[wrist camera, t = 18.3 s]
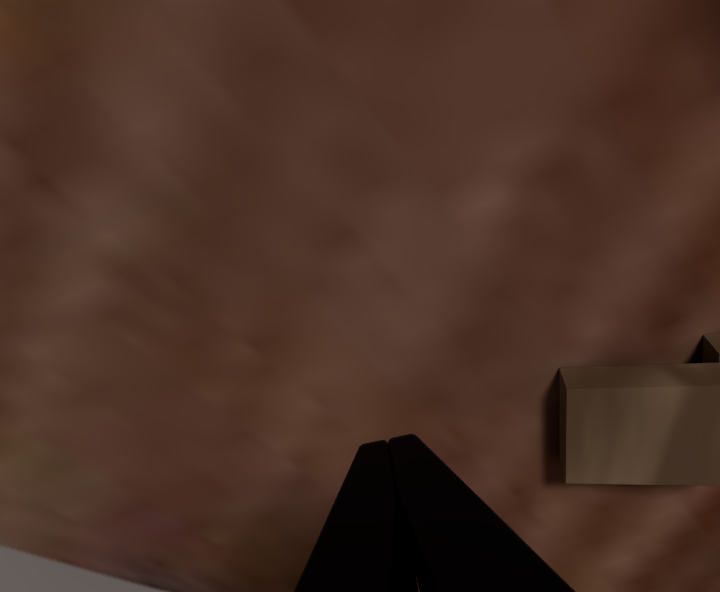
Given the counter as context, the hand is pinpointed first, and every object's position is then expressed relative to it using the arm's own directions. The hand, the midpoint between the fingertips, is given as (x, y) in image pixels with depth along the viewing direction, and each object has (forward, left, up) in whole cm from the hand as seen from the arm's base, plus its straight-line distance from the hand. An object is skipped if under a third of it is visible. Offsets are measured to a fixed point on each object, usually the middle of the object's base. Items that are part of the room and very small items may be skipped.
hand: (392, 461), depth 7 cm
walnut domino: (-7, +10, -11) cm, 17 cm away
